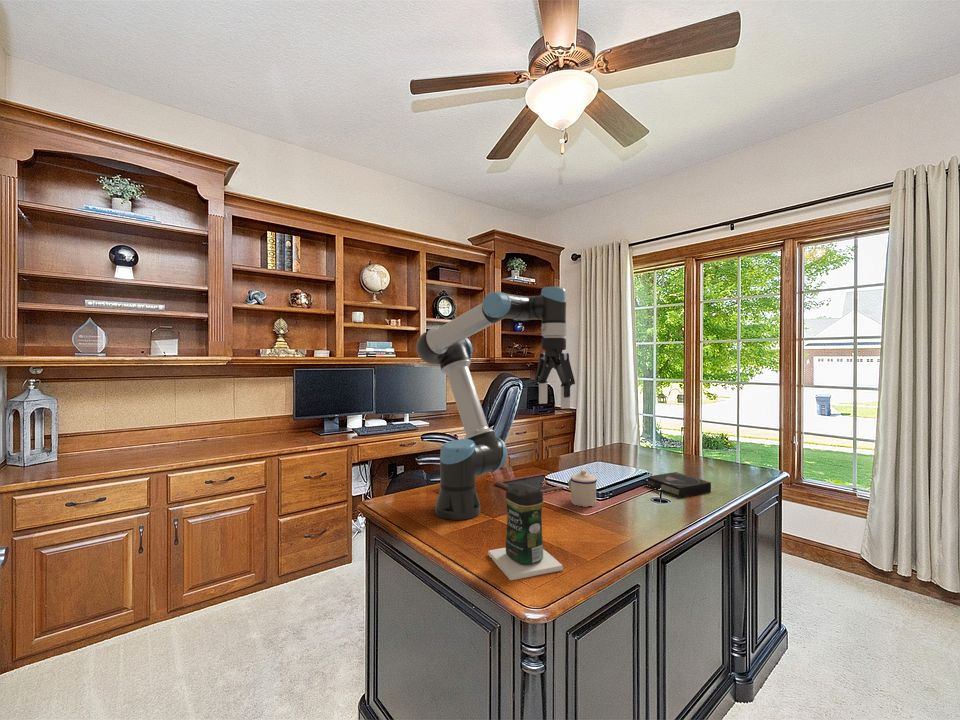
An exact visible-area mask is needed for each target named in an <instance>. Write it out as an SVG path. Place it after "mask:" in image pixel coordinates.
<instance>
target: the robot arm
mask: <svg viewBox="0 0 960 720" xmlns="http://www.w3.org/2000/svg"><path fill="white" fill-rule="evenodd" d="M566 309H567V294H566V289H565V288H564V287H561V286H545V287H543V288H542V289H541V292H540V295H530V296H527V295H519V294H512V293H507V292H506V293H505V292H502V291H491V292H488V293H487V294H486V295H485V296H484V297H483V300H482V302H481V303H479V304H478V305H476V306H475V307H472V308H471V309H469V310H468V311H465V312H464V313H462V314H460V315H459V316H457V317H455V318H453V319H451V320H450V321H449V322H447V323H445V324H443V325H441V326H439V327H438V328H436V327H432V328H430V329H428V330H426V331H425V332H423V333H422V334H421V335H420V336H419V337H418V339H417V341H416V345H415V349H416V354H417V355H418V357H419V358H420V359H421V360H422V361H423V362H424V363H425V364H430V365H439V368H440V370H441V371H440V372H441V373H443V374H445V375H446V376H447V379H448V382H449V385H450V388H451V392H452V396H453V398H454V402H455V404H456V408H457V410H458V413H459V417H460V420H461V423H462V426H463V430H464V433H465V437H464V438H459V439H454V440H453V439H452V440H450V441H447V442H445V443H443V444H442V445H441V447H440V455H439V473H440V474H439V475H440V479H439V480H440V482H439V483H440V485H439V487H440V488H439V493H438V496H437V499H436V502H435V506H434V513H436V514H435V515H436V516H437V517H439V518H441V519H444V520H452V521H462V520H464V521H465V520H468V519H472V518H475V517H477V516H478V515H480V513H481V502H480V500H479V497H478V493H477V490H476V477H479V476H482V475H485V474H489V473H494V472H496V471H497V470H500V469H501V468H502V467H503V466H504V465H505V464H506V461H507V459H508V448H507V445H506V442H505V441H504V440H502V439H501V438H500V437H497V435H496V433H495V430H494V429H493V428H490V427H489V425H488V421H487V418H486V416H485V413H484V409H483V407H482V403H481V401H480V397H479V396H478V392H477V389H476V386H475V383H474V380H473V377H472V374H471V371H470V369H469V368H470V366H471V363H472V362H471V361H472V360H471V359H472V357H473V354H472V353H473V352H474V350H473V345H472V343H471V341H470V339H469V337H472V336H473V335H475V334H477V333H479V332H481V331H483V330H485V329H487V328H488V327H490V326H492V325H495V324H497V323H499V322H500V321H502V320H504V319H511V320H513V321H522V322H525V321H531V320H541V327H540V329H541V336H542V337H543V338H541V350H542V351H545V352H540V353H539V361H538V363H537V369H536V373H535V377H534V381H537V383H538V404H539V405H541V404H545V405H546V404H548V378H549V375H550V373H551V371H552V369H554V370H556V373H557V375H558V378H559V380H560V384H561V385H560V409H562V410H564V409H570V408H571V387H572V386H573V385H575V384H576V380H575V376H574V374H573V370H572V365H571V362H570V353H569V352H563V351H565V350H566V349H567V339H566V338H565V337H566V336H567V317H566V316H567V314H566V313H567V310H566Z"/></svg>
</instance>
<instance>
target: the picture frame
mask: <svg viewBox="0 0 960 720" xmlns="http://www.w3.org/2000/svg"><path fill="white" fill-rule="evenodd" d="M547 475H549V474H548V473H545V472H542V473H541V472H540V473H537V474H530V475H524V476H519V477H514V478H508V479H503V480H498V481H495V486H497V487H500V488H502V489H504V490H505V491H506V490H507V487H508V486H509V484H512V483H517V482H523V483H524V484H527V485H530V486H532V487H535V488H537V489H539V490H541V491H542V493H547V492H551V491H557V490H561V489H562V488H563V487H554V488H553V487H549V486H547V485H546V486H545V485H544V486H543V484H544V483H542V482H543V481H544V477H545V476H547ZM542 486H543V487H542Z"/></svg>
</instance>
